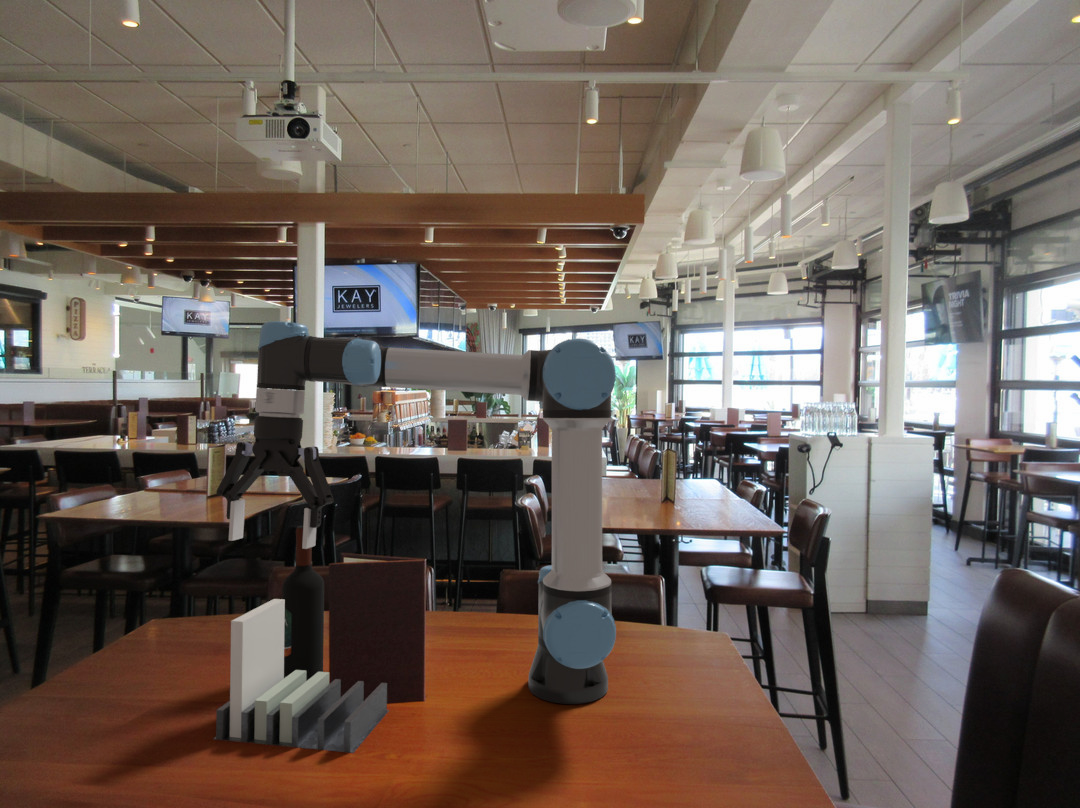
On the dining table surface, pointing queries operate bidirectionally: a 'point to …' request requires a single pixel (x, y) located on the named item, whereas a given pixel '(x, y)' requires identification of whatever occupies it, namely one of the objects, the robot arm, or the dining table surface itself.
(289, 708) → the offcut
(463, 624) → the dining table surface
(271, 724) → the rack
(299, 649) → the wine bottle
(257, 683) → the tall sheet
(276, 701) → the offcut
